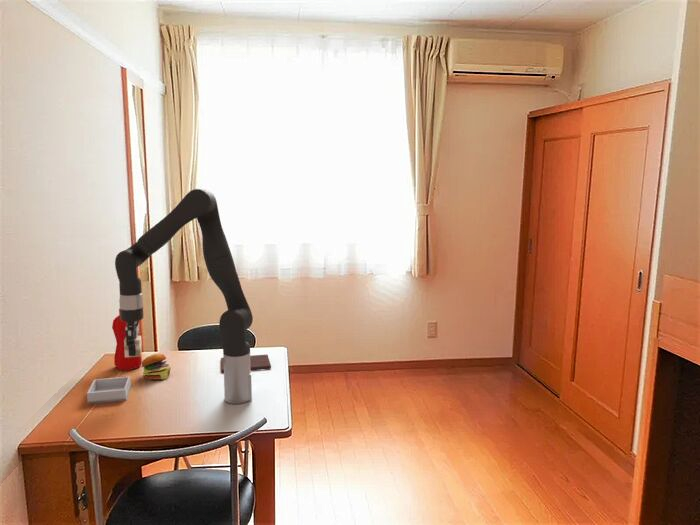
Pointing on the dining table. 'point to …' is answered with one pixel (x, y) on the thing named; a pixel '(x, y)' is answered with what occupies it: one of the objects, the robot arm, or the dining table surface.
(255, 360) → the notebook
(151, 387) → the dining table surface
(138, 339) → the birch block
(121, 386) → the grey bin
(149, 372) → the cheeseburger
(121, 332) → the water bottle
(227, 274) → the robot arm
